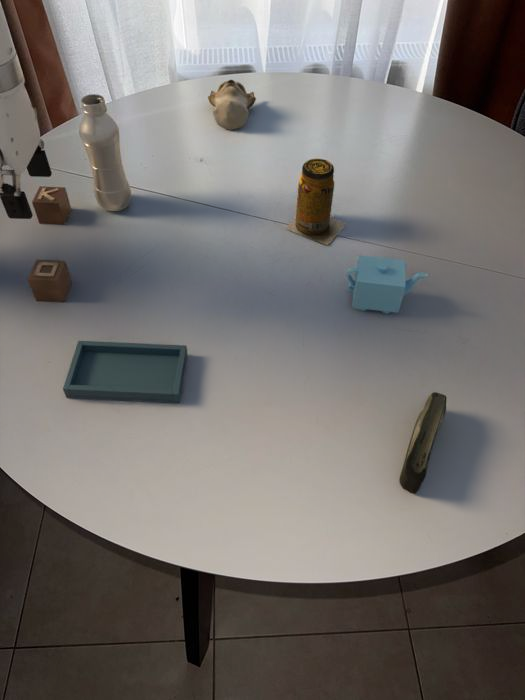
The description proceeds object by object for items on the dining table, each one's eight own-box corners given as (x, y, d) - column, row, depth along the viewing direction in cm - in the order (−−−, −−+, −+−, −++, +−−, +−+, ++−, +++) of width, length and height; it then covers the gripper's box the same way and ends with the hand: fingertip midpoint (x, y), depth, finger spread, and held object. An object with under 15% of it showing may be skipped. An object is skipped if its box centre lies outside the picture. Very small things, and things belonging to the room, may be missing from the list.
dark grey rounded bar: (428, 480, 67) (454, 382, 76) (403, 471, 68) (431, 375, 76) (418, 498, 71) (444, 403, 80) (394, 489, 72) (422, 396, 80)
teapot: (418, 292, 94) (429, 256, 88) (419, 319, 90) (430, 284, 84) (343, 283, 95) (350, 248, 89) (341, 310, 91) (348, 274, 85)
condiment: (305, 208, 107) (311, 150, 98) (346, 224, 104) (355, 166, 95) (285, 229, 103) (288, 170, 94) (326, 246, 101) (334, 187, 91)
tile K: (39, 223, 103) (31, 200, 99) (46, 207, 106) (39, 185, 102) (64, 224, 103) (58, 202, 99) (71, 208, 106) (65, 186, 102)
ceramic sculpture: (203, 93, 116) (207, 64, 126) (205, 134, 123) (209, 103, 133) (256, 95, 116) (256, 65, 127) (255, 136, 123) (255, 105, 133)
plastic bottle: (118, 220, 104) (96, 114, 89) (89, 208, 106) (62, 102, 91) (140, 201, 108) (122, 96, 92) (112, 190, 110) (89, 85, 94)
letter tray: (66, 397, 79) (62, 388, 78) (81, 349, 85) (78, 340, 83) (179, 403, 79) (178, 394, 77) (187, 354, 85) (186, 345, 83)
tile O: (35, 301, 91) (26, 278, 87) (44, 280, 94) (35, 258, 90) (64, 302, 91) (57, 279, 87) (72, 281, 94) (65, 259, 90)
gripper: (-19, 40, 74) (22, 160, 87) (-74, 108, 62) (-16, 234, 76) (39, 41, 73) (72, 161, 87) (-5, 110, 62) (41, 236, 76)
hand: (31, 195), depth 81 cm, fingers open, 9 cm apart
